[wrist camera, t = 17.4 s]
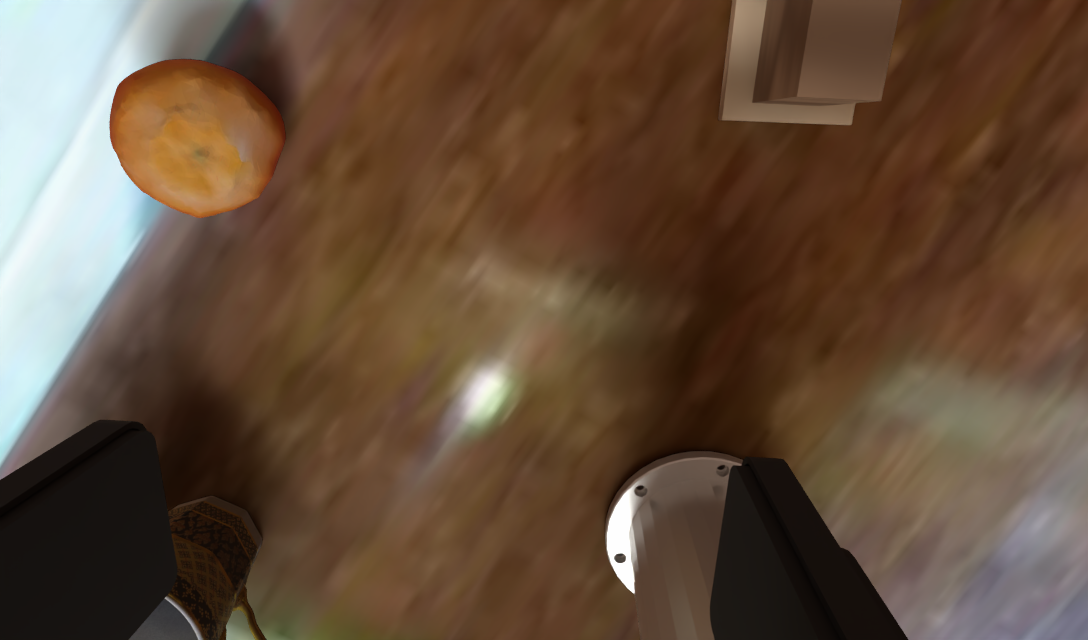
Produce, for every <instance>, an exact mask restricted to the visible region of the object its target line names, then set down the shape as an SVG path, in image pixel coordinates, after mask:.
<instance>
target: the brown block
mask: <svg viewBox="0 0 1088 640" xmlns="http://www.w3.org/2000/svg"><path fill="white" fill-rule="evenodd" d="M901 1H902V0H767V3H766V10H765V17H764V24H763V31H762V38H761V45H760V51H759V58H758V65H757V72H756V79H755V86H754V93H753V99H752V103H764V104H784V105H803V106H829V105H840V104H852V103H863V102H875V101H881V98H882V94H883V89H884V84H885V79H886V74H887V69H888V64H889V60H890V55H891V50H892V45H893V40H894V35H895V30H896V26H897V21H898V16H899V11H900V6H901Z"/></svg>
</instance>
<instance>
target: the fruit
mask: <svg viewBox="0 0 1088 640" xmlns="http://www.w3.org/2000/svg"><path fill="white" fill-rule="evenodd" d="M110 139H111V143H112V146H113V149H114V150H115V152H116V154H117V156H118V158H119V160H120V163H121V166H122V167H123V169H124V171H125V172H126V174H127V175H128V176H129V178H130V179H131V180H132V181H133V182H134V184H135V185H136V186H138V188H139V189H140V190H141V191H143V192H144V193H146V194H148V195H149V196H151V197H152V198H154V199H155V200H157V201H159V202H161V203H163V204H165V205H167V206H169V207H171V208H173V209H176V210H178V211H180V212H182V213H186V214H190V215H192V216H195V217H198V218H203V217H208V216H213V215H216V214H219V213H223V212H227V211H231V210H234V209H236V208H239V207H241V206H243V205H245V204H247V203H249V202H251V201H252V200H254V199H256V198H258V197H259V196H260V195H261V193H262V191H263V190H264V188H265V187H266V185H267V184H268V183H269V181H270V180H271V178H272V176H273V174H274V171H275V168H276V165H277V162H278V159H279V157H280V154H281V152H282V149H283V146H284V143H285V139H286V134H285V127H284V122H283V119H282V117H281V114H280V113H279V111H278V109H277V108H276V106H275V105H274V104H273V103H272V102H271V101H270V100H269V98H268V97H267V96H266V95H265V94H264V93H263V92H262V91H261V90H260V89H258V88H257V87H256V86H255V85H254V84H253V83H251V82H250V81H249V80H248V79H247V78H245V77H244V76H242V75H241V74H239V73H237V72H235V71H233V70H230V69H227V68H225V67H222V66H218V65H215V64H212V63H209V62H206V61H202V60H192V59H174V60H165V61H161V62H158V63H154V64H152V65H149V66H146V67H144V68H142V69H140V70H138V71H136V72H134V73H132V74H131V75H129V76H128V77H126V78H125V79H124V80H123V81H122V82H121V83H120V84H119V85H118V87H117V89H116V92H115V96H114V99H113V103H112V108H111V114H110Z"/></svg>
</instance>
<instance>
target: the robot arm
mask: <svg viewBox="0 0 1088 640" xmlns="http://www.w3.org/2000/svg"><path fill="white" fill-rule="evenodd" d="M720 465H722V466H720ZM640 485H642V486H640ZM605 541H606V550H607V554H608V558H609V562H610V564H611V566H612V568H613V570H614V571H615V573H616V575H617V577H618V578H619V579H620V580H621V582H622V583H623V584H624V585H625V586H626V587H627V588H628V589H629V590H630V591H631V592H633V593H634V594H635V600H636V607H637V615H638V623H639V630H640V638H641V640H908V638H907V637H906V635H905V634H904V632H903V631H902V629H901V628H900V626H899V625H898V623H897V622H896V620H895V619H894V617H893V615H892V614H891V612H890V611H889V609H888V608H887V606H886V605H885V603H884V602H883V600H882V599H881V597H880V596H879V594H878V592H877V591H876V589H875V588H874V586H873V585H872V583H871V582H870V580H869V579H868V577H867V576H866V574H865V573H864V571H863V570H862V568H861V566H860V565H859V563H858V562H857V560H856V559H855V557H854V556H853V555H852V554H851V553H850V552H849V551H848V550H846V549H844V548H840V546H839V545H838V543H837V542H836V540H835V538H834V537H833V535H832V534H831V532H830V531H829V529H828V527H827V526H826V524H825V523H824V521H823V520H822V518H821V516H820V515H819V513H818V512H817V510H816V509H815V507H814V505H813V504H812V502H811V501H810V499H809V498H808V496H807V494H806V493H805V491H804V490H803V488H802V486H801V485H800V483H799V482H798V480H797V479H796V477H795V475H794V474H793V472H792V471H791V469H790V468H789V466H788V464H787V463H786V462H785V461H784V459H776V458H759V457H746V458H744V460H742V459H739V458H736V457H734V456H731V455H728V454H723V453H717V452H711V451H690V452H684V453H678V454H673V455H670V456H667V457H664V458H661V459H658V460H656V461H654V462H652V463H650V464H649V465H647V466H645V467H643V468H641V469H640V470H639V471H638V472H636V473H635V474H634V475H633V476H631V477H630V478H629V479H628V480H627V481H626V482H625V483H624V485H623V486H622V487H621V488H620V489H619V491H618V492H617V493H616V495H615V497H614V499H613V501H612V503H611V505H610V507H609V511H608V514H607V517H606V524H605ZM176 578H177V562H176V556H175V551H174V545H173V539H172V533H171V528H170V522H169V516H168V510H167V504H166V499H165V493H164V487H163V481H162V476H161V470H160V464H159V458H158V453H157V447H156V441H155V438H154V436H153V435H152V433H150V432H148V431H147V430H146V428H145V427H144V426H143V424H141V423H139V422H133V421H115V420H99V421H96V422H94V423H92V424H91V425H89V426H87V427H86V428H84V429H82V430H81V431H79V432H78V433H76V434H74V435H73V436H71V437H69V438H68V439H66V440H64V441H63V442H61V443H60V444H58V445H56V446H55V447H53V448H51V449H50V450H48V451H47V452H45V453H43V454H42V455H40V456H38V457H37V458H35V459H34V460H32V461H30V462H29V463H27V464H25V465H24V466H22V467H21V468H19V469H17V470H16V471H14V472H12V473H11V474H9V475H8V476H6V477H4V478H3V479H1V480H0V640H129V639H130V638H131V636H132V635H133V634H134V633H135V632H136V631H137V630H138V628H139V627H140V626H141V625H142V624H143V623H144V621H145V620H146V619H147V618H148V617H149V616H150V615H151V613H152V612H153V611H154V610H155V609H156V608H157V607H158V605H159V604H160V603H161V602H162V601H163V600H164V598H165V597H166V596H167V595H168V594H169V592H170V591H171V590H172V588H173V586H174V584H175V581H176Z"/></svg>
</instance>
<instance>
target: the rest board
mask: <svg viewBox="0 0 1088 640" xmlns="http://www.w3.org/2000/svg"><path fill="white" fill-rule="evenodd" d="M766 3H767V0H732V7H731V15H730V23H729V32H728V40H727V49H726V57H725V66H724V74H723V82H722V91H721V99H720V108H719V116H718V120H727V121H752V122H778V123H803V124H828V125H852V120H853V114H854V109H855V103H852V104H840V105H829V106H803V105H784V104H764V103H752V99H753V93H754V86H755V79H756V72H757V65H758V58H759V51H760V45H761V38H762V31H763V24H764V17H765V10H766Z"/></svg>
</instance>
